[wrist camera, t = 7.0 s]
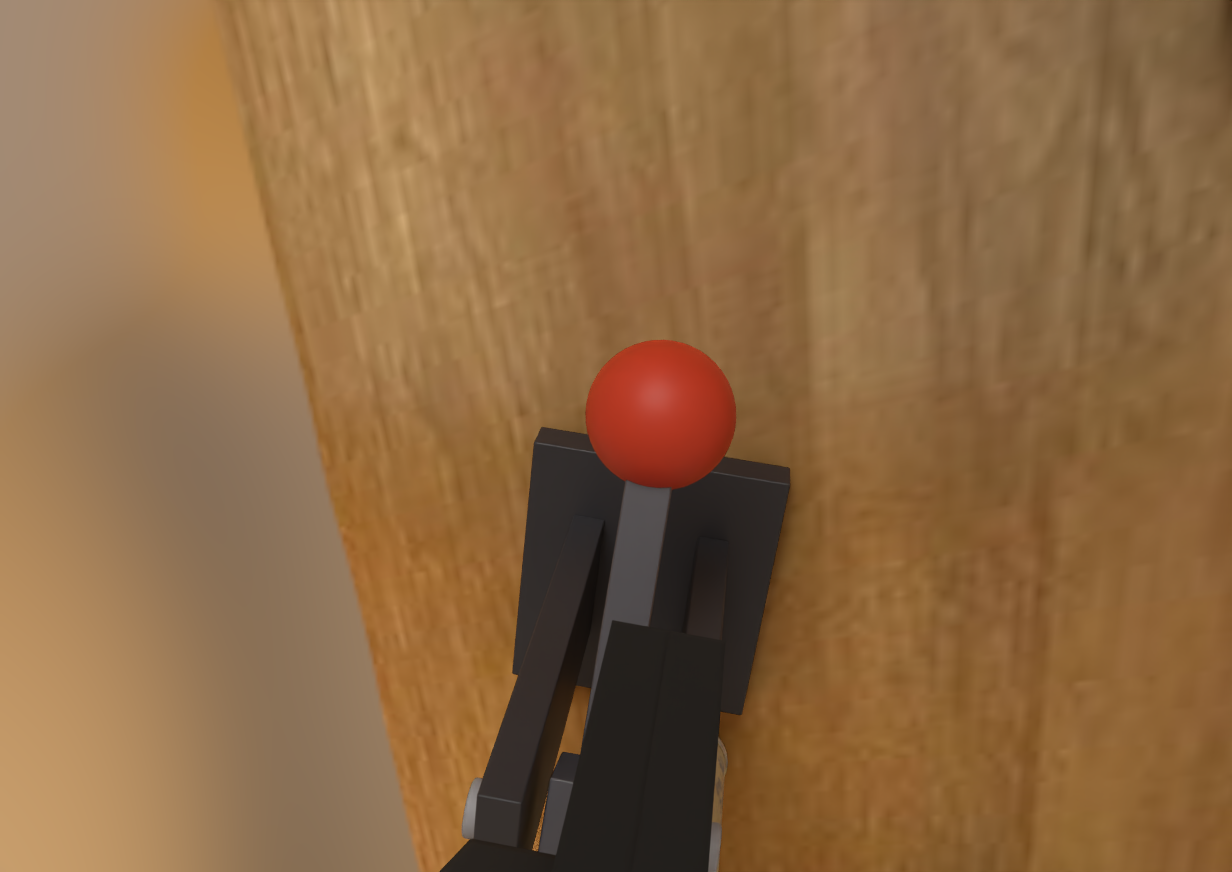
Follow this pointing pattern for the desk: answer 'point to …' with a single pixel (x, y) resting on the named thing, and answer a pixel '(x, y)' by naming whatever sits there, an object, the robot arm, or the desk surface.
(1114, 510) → the desk surface
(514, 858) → the robot arm
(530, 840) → the switch bracket
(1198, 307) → the desk surface
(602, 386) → the red ball lever
